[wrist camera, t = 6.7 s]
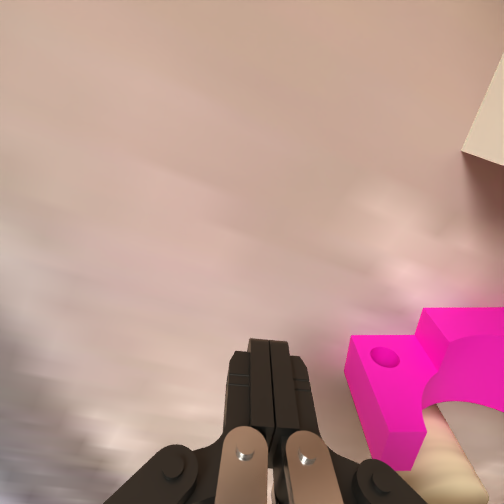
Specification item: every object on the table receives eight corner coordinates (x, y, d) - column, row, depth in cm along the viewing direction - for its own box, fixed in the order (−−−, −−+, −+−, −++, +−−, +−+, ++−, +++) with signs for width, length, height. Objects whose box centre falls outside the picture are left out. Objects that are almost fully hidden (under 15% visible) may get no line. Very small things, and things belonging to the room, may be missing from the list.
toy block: (567, 305, 23) (697, 398, 16) (531, 368, 26) (627, 468, 19) (355, 306, 23) (400, 401, 16) (343, 369, 26) (376, 471, 19)
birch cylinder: (374, 368, 25) (423, 480, 18) (434, 374, 26) (505, 486, 19) (355, 409, 28) (391, 522, 21) (410, 414, 28) (465, 527, 21)
